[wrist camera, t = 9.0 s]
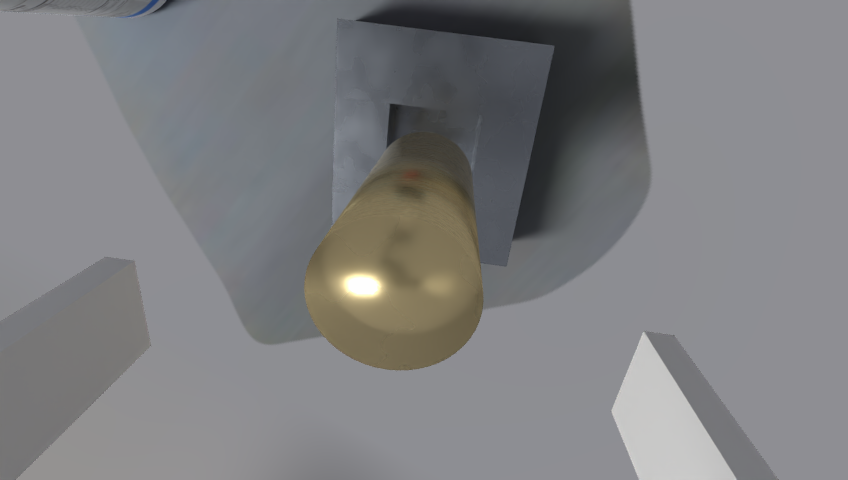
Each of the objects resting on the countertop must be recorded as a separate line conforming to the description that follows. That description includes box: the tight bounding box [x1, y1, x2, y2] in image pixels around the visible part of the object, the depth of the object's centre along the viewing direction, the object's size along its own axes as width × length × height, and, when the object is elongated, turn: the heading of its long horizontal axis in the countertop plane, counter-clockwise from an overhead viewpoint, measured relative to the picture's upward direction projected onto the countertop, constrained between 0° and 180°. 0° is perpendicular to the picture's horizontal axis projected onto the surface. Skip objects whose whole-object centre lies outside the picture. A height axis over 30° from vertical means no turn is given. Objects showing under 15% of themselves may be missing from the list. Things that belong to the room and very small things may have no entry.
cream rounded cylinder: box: [304, 132, 483, 370], centre depth 19 cm, size 6×6×13 cm
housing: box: [332, 19, 555, 266], centre depth 33 cm, size 16×14×4 cm
